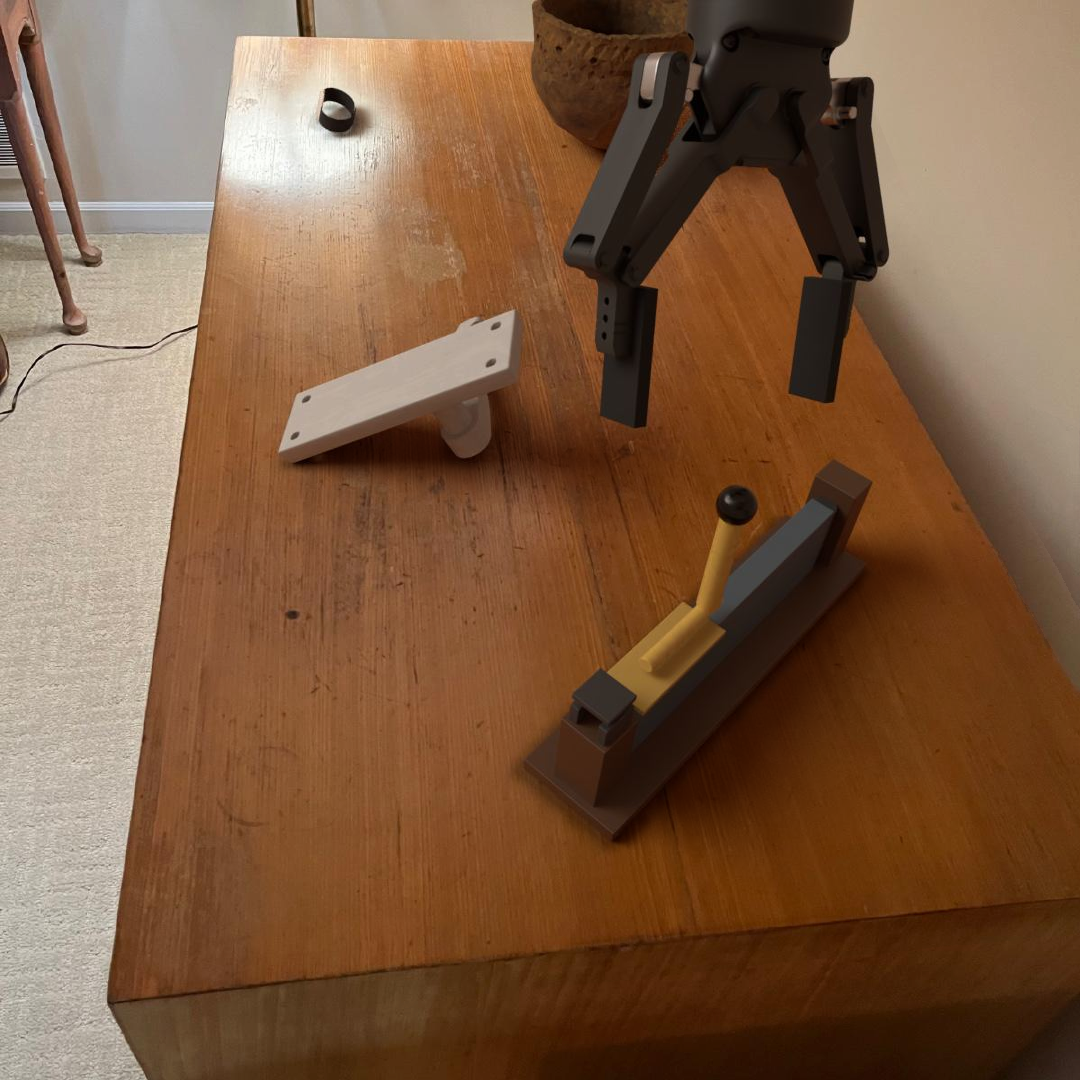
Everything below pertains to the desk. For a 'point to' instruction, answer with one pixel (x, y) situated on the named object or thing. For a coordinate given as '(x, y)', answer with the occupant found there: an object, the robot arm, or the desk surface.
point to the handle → (413, 391)
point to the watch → (342, 99)
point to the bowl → (598, 57)
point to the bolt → (710, 571)
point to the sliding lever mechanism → (702, 663)
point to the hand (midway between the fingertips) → (723, 409)
